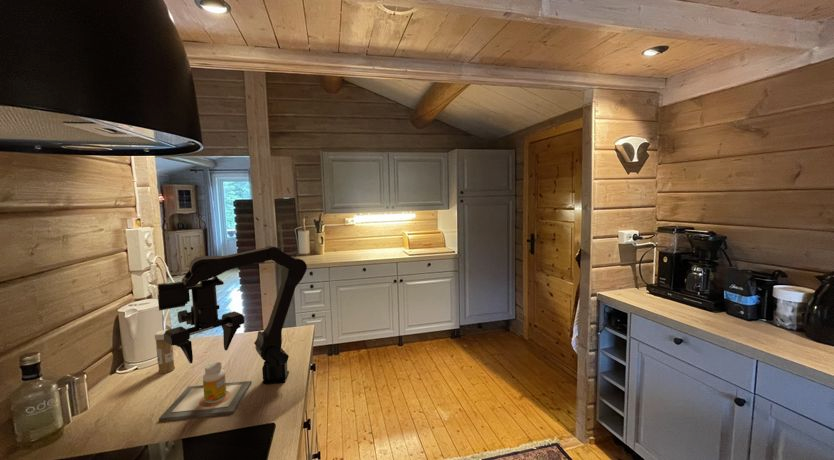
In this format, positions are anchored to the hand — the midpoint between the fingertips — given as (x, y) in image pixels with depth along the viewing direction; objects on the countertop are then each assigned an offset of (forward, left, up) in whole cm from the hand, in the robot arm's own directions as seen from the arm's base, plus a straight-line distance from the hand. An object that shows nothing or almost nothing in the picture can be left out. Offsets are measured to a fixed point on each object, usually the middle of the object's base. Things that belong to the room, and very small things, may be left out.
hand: (209, 356), depth 96 cm
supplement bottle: (-1, +1, -12) cm, 12 cm away
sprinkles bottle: (+23, -21, -13) cm, 34 cm away
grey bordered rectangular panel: (+1, 0, -13) cm, 13 cm away
